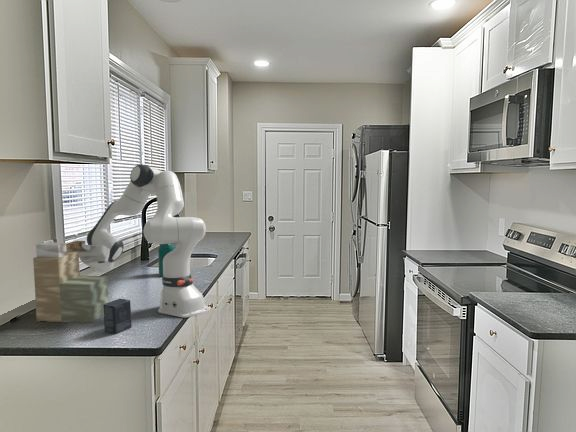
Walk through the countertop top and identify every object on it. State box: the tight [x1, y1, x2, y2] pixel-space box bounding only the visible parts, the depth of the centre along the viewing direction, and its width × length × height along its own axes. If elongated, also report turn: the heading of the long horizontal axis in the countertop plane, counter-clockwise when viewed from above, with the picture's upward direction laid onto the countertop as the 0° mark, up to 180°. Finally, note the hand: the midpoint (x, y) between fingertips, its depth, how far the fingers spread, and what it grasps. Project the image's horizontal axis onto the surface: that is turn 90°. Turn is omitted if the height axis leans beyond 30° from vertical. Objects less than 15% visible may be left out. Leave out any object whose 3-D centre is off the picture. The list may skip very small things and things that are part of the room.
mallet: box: [35, 240, 86, 258], centre depth 176 cm, size 23×9×5 cm, turn 176°
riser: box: [32, 252, 110, 324], centre depth 171 cm, size 14×22×25 cm, turn 86°
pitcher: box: [157, 243, 176, 278], centre depth 241 cm, size 10×8×22 cm
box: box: [103, 298, 132, 335], centre depth 156 cm, size 8×6×11 cm
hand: (75, 244), depth 183 cm, fingers closed on mallet, 4 cm apart
